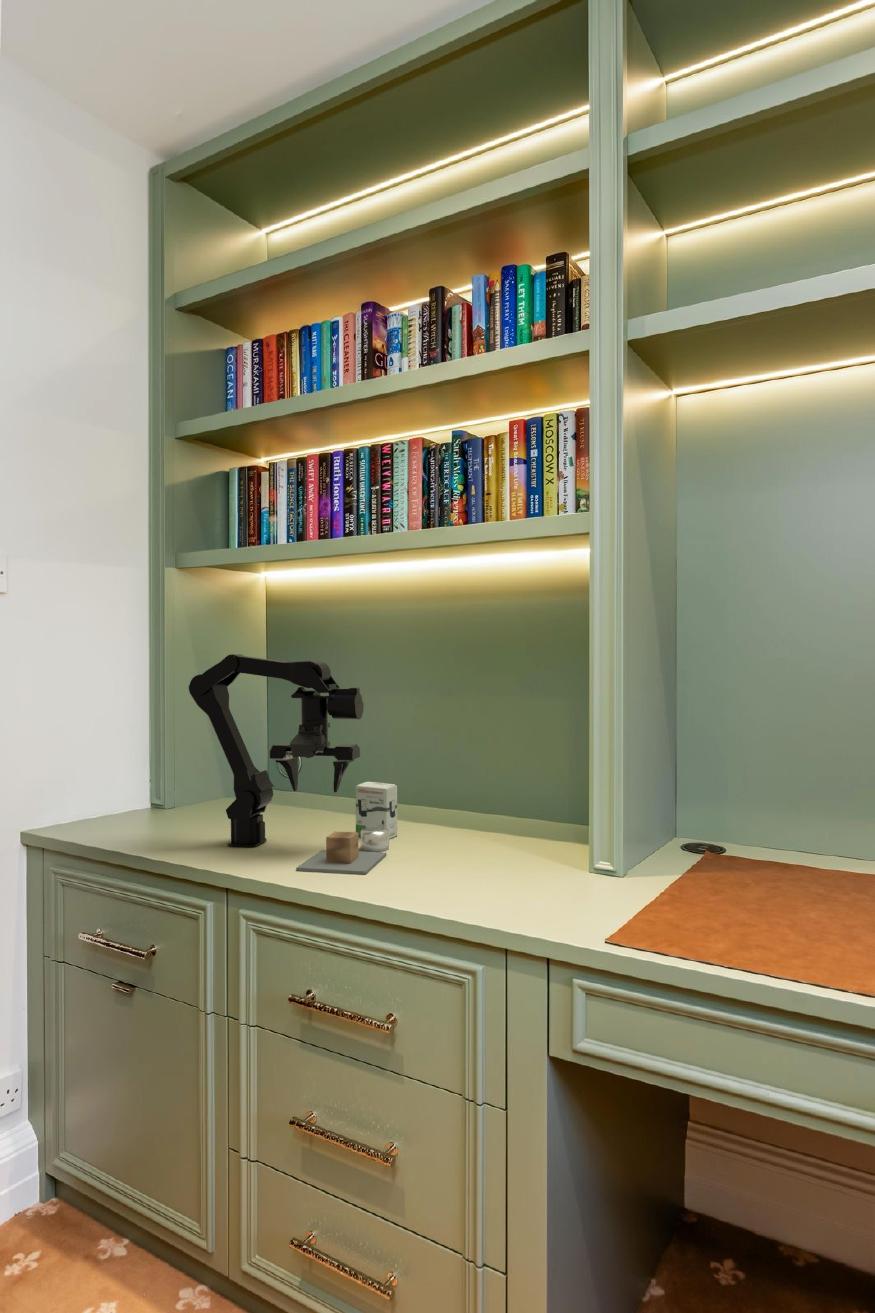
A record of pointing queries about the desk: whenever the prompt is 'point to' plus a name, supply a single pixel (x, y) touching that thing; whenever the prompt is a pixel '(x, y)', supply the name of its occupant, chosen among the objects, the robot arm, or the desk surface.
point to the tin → (374, 839)
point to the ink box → (376, 807)
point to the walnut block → (342, 847)
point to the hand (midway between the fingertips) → (315, 791)
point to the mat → (356, 867)
